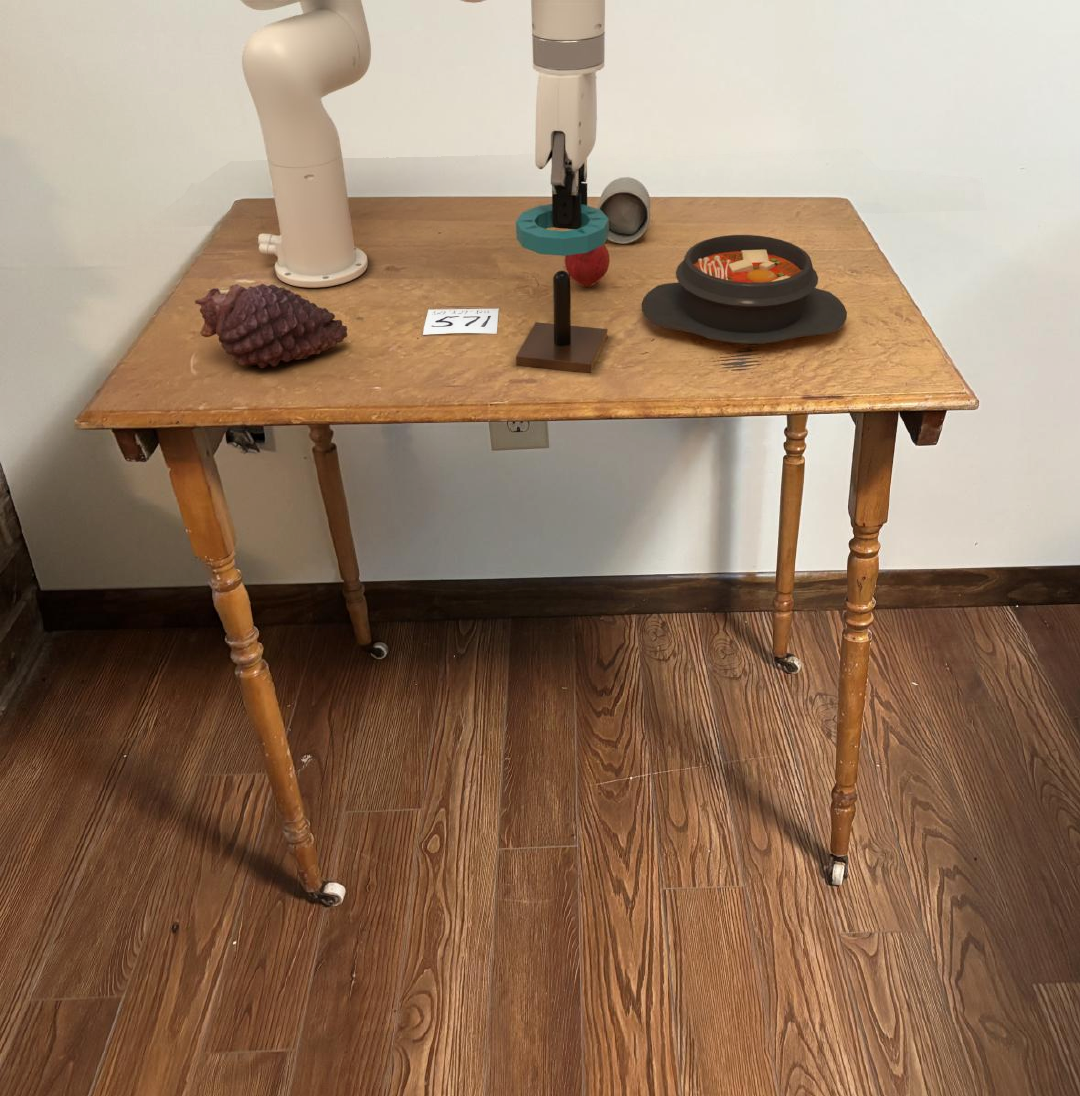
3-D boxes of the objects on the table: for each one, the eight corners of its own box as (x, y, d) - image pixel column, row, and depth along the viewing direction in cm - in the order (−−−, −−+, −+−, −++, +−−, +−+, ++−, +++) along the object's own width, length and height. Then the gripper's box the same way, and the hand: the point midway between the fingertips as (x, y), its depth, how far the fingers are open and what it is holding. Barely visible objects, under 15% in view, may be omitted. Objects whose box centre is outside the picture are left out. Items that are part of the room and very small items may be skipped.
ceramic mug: (649, 222, 162) (651, 170, 157) (649, 244, 156) (650, 191, 151) (578, 222, 163) (577, 171, 158) (574, 245, 156) (573, 191, 152)
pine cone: (344, 326, 138) (355, 279, 129) (339, 394, 134) (351, 351, 125) (197, 303, 133) (198, 253, 124) (188, 374, 129) (189, 327, 120)
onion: (605, 298, 143) (606, 239, 138) (561, 295, 144) (560, 236, 139) (611, 279, 147) (613, 221, 142) (569, 276, 148) (569, 218, 143)
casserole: (635, 353, 131) (638, 287, 125) (645, 286, 145) (647, 224, 140) (850, 363, 128) (862, 296, 122) (838, 293, 142) (848, 231, 137)
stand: (516, 365, 129) (513, 284, 123) (535, 330, 136) (533, 252, 130) (591, 373, 127) (591, 291, 121) (606, 337, 134) (608, 258, 128)
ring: (507, 251, 120) (506, 234, 119) (530, 217, 128) (530, 200, 126) (596, 258, 118) (596, 241, 117) (615, 223, 126) (615, 206, 124)
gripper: (552, 31, 121) (555, 195, 132) (513, 71, 109) (519, 248, 120) (619, 33, 120) (616, 199, 131) (586, 74, 107) (586, 253, 119)
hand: (570, 221), depth 125 cm, fingers closed on ring, 2 cm apart
